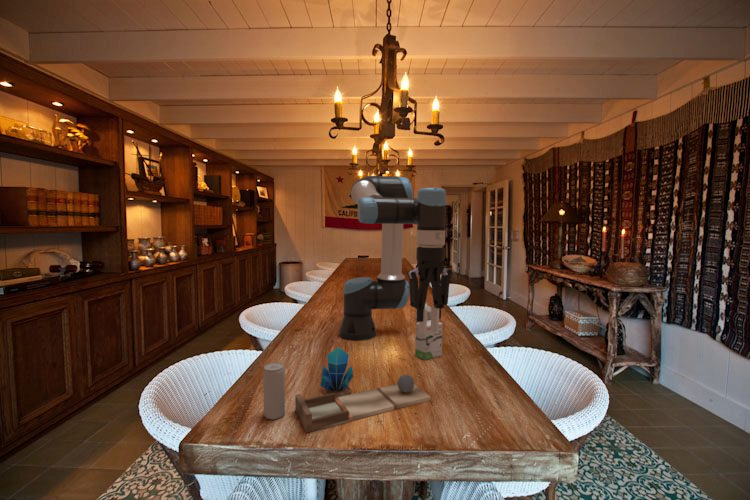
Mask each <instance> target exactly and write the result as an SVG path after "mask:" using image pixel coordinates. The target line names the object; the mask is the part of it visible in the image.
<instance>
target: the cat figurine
mask: <svg viewBox="0 0 750 500" xmlns="http://www.w3.org/2000/svg"><path fill="white" fill-rule="evenodd" d="M431 307H432V306H429V305H428V301H426V303H425V308H424V309H426V310H427V321H429V320H431ZM415 309H416V308H415ZM414 317H415V319H416V320H417V309H416V314H415V316H414Z"/></svg>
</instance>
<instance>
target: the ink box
mask: <svg viewBox="0 0 750 500" xmlns="http://www.w3.org/2000/svg"><path fill="white" fill-rule="evenodd" d="M414 346H415V350H414V351H415V352H414V356H415V357H416V358H419V359H421V360H423V361H425V360H426V361H427V360H429V359H434V358H439V357H441V356H442V355H443V354H442V353H443V352H442V350H443V322H440V321H439V332H435V331H433V330H431V320H429V321H427V334H423V333H421V332H419V321H417V322H416V323H415V345H414Z"/></svg>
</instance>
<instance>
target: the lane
mask: <svg viewBox="0 0 750 500" xmlns="http://www.w3.org/2000/svg"><path fill="white" fill-rule="evenodd" d="M294 395H295V399H294V400H295V401H294V406H295V413H296V415H297V416H298V418H299V421H300V423H301V425H302V427H303V429H304V430H305V433H306V434H307V433H312V432H315V431H319V430H323V429H326V428H330V427H335V426H338V425H341V424H346V423H349V422H350V423H351V422H353V421H357V420H361V419H365V418H369V417H372V416H376V415H378V414H379V415H380V414H383V413H387V412H392V411H395V410H399V409H402V408H406V407H410V406H413V405H417V404H421V403H422V404H423V403H425V402H429V401H431V398H432V397H431V396H430V395H429V394H428V393H426V392H425V391H424V390H422V389H421V387H419V386H417V385H416V384H415V383H414V388H413V390H412V391H410V392H408V393H404V392H402V391H401V390H400V389H399V388H398V383H395V384H391V385H386V386H382V387H378V388H377V387H376V388H373V389H368V390H365V391H359V392H355V393H354V392H353V393H350V394H349V395H346V396H341V397H337V398H335V393H331V394H326V395H324V394H323V395H318V396H313V397H309V398H305V399H304V398H303V396H302V395H301V393H299V394H294Z"/></svg>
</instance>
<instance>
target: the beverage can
mask: <svg viewBox="0 0 750 500" xmlns="http://www.w3.org/2000/svg"><path fill="white" fill-rule="evenodd" d="M284 366H285V365H284V363H282V362H270V363H267V364H265V365H264V366H263V373H262V374H263V377H262V379H263V382H262V383H263V416H264V417H265V419H268V420H270V421H271V420H272V421H273V420H277V419H280V418H282V417H283V416H284V415H285V413H286V412H285V411H286V408H285V407H286V402H285V401H286V400H285V395H286V392H285V391H286V390H285V389H286V388H285V387H286V386H285V384H286V383H285V381H286V380H285V378H286V377H285V367H284Z"/></svg>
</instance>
